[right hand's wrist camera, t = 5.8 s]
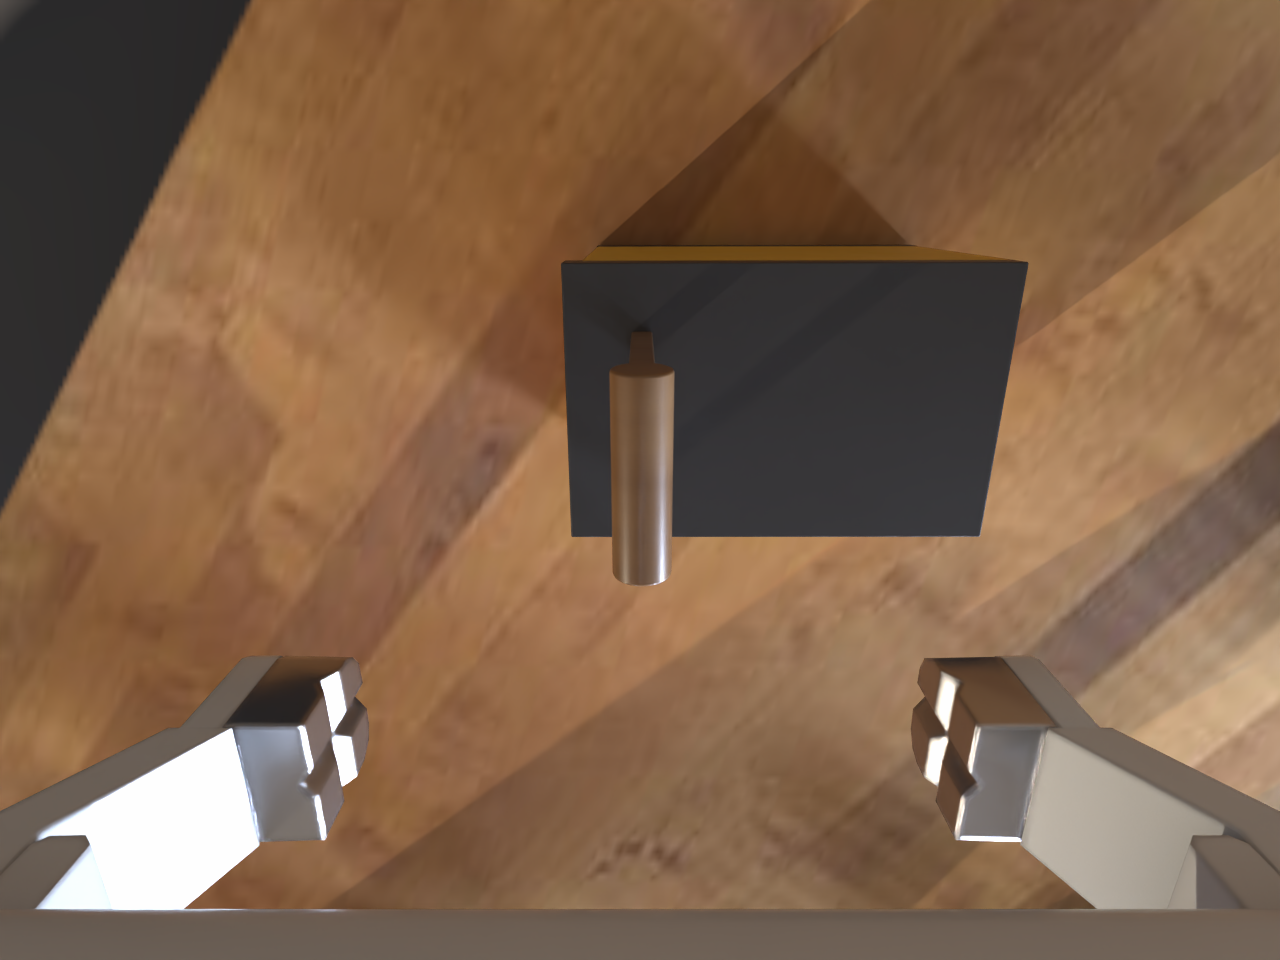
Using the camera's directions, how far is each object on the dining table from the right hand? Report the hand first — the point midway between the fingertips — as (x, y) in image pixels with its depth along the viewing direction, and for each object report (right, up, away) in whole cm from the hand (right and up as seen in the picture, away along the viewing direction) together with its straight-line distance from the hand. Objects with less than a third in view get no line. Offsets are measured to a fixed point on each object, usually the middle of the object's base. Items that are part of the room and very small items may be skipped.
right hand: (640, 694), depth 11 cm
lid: (+5, +6, +16) cm, 18 cm away
